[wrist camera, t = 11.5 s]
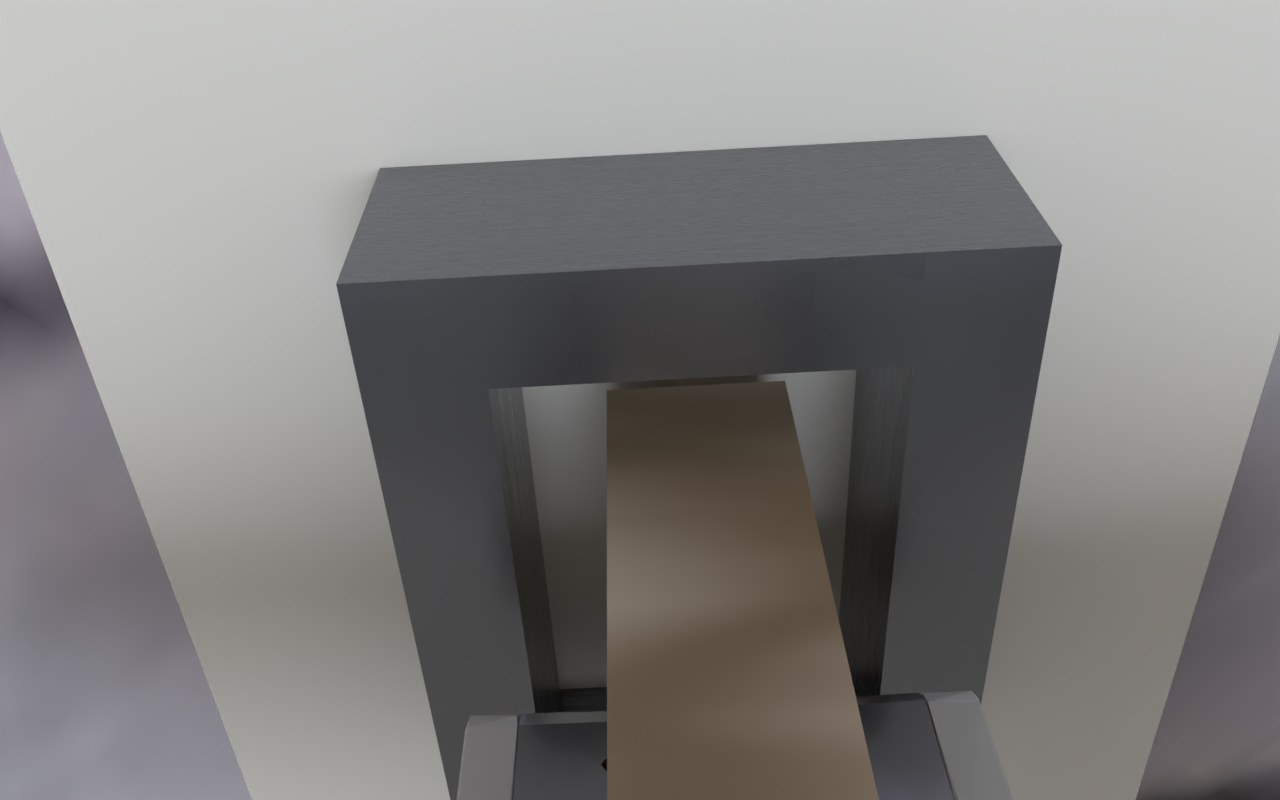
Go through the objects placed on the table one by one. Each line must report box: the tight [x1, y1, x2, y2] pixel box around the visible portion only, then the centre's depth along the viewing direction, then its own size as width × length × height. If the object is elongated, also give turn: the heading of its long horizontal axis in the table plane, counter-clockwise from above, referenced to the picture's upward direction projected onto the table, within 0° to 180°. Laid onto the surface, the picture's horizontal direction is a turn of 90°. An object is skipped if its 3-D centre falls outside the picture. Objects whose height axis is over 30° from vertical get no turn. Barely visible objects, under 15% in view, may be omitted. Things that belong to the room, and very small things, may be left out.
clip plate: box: [0, 0, 1280, 800], centre depth 16 cm, size 14×14×1 cm
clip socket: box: [336, 135, 1062, 800], centre depth 14 cm, size 6×9×2 cm
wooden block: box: [607, 381, 879, 800], centre depth 12 cm, size 2×4×7 cm, turn 3°
